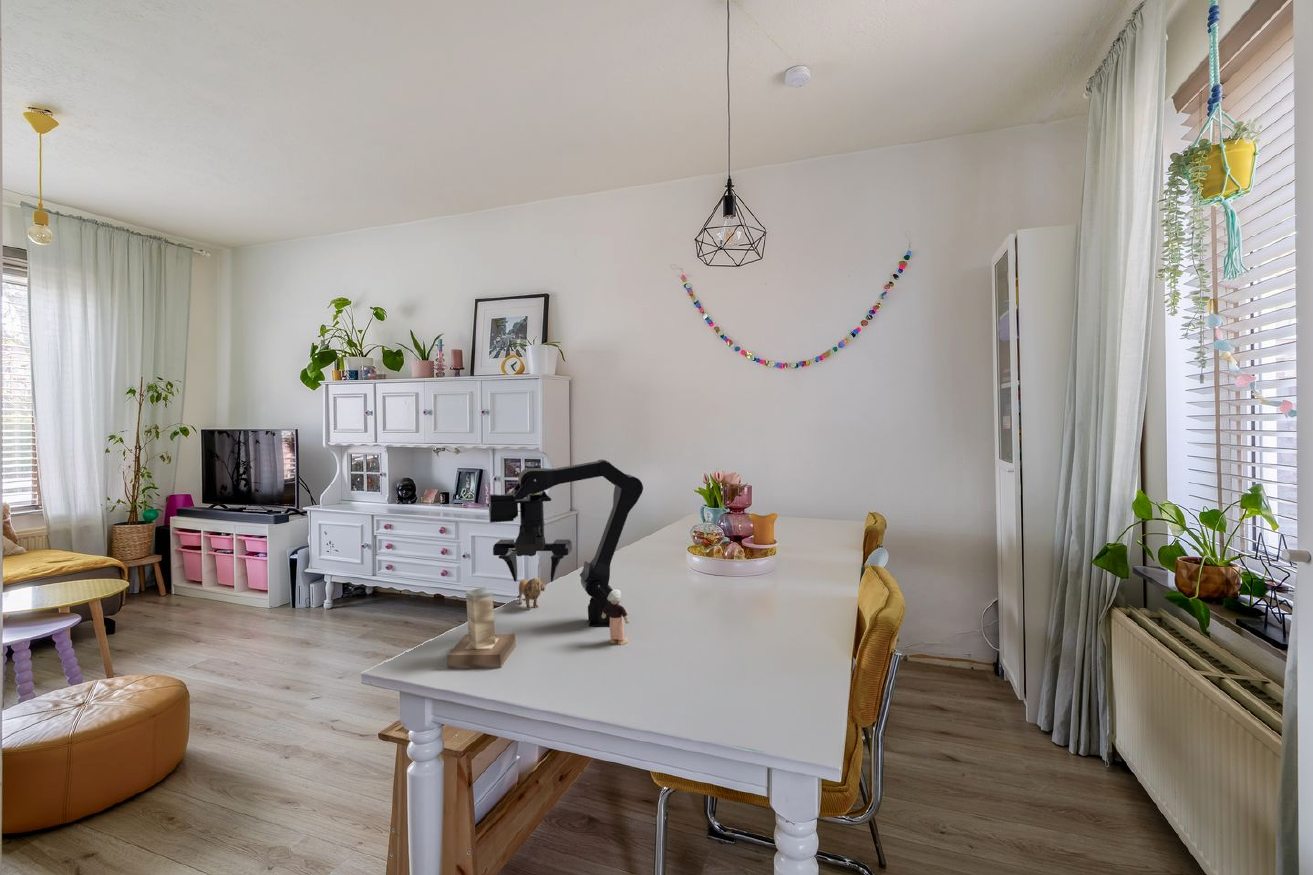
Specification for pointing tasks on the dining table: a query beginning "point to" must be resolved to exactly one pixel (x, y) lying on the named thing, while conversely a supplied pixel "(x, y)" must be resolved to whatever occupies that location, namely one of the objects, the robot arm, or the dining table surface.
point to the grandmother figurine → (616, 617)
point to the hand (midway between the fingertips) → (533, 581)
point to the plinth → (481, 653)
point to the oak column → (480, 617)
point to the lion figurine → (530, 591)
